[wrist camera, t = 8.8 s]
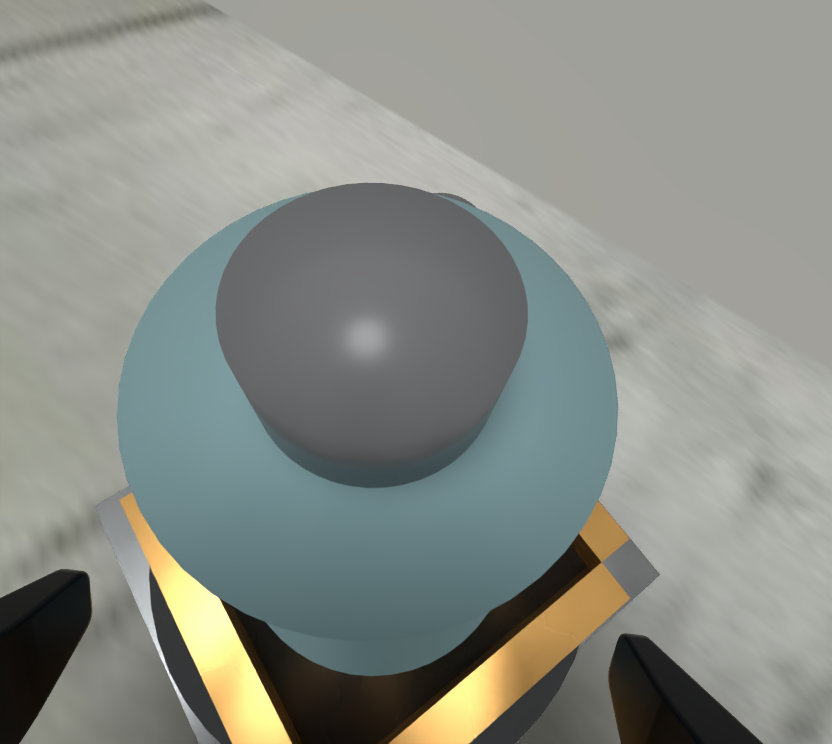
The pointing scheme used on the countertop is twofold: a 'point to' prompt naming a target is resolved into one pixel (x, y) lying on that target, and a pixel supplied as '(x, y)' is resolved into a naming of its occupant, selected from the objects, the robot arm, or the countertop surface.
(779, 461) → the countertop surface
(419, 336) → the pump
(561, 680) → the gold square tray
